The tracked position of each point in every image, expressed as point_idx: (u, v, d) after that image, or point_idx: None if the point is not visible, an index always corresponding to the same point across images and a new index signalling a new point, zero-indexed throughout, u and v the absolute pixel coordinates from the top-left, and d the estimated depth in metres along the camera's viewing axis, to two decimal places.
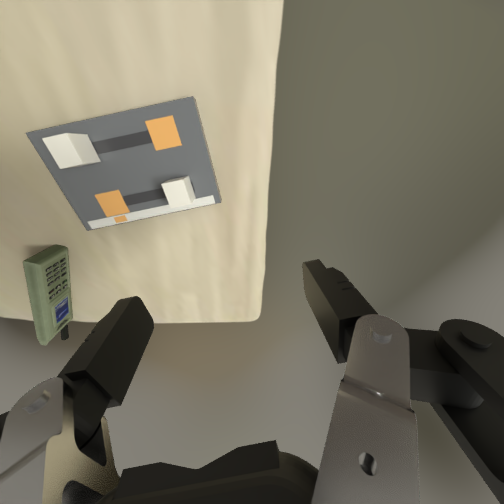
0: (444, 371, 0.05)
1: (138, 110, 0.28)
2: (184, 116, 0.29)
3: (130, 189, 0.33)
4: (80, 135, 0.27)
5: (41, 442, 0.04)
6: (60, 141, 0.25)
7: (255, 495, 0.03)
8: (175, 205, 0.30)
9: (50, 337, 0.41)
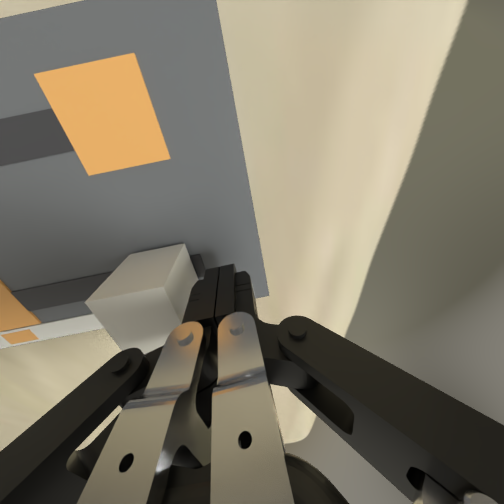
0: (274, 358, 0.06)
1: (0, 29, 0.07)
2: (178, 59, 0.08)
3: (31, 276, 0.12)
4: None
5: (176, 384, 0.05)
6: None
7: None
8: (141, 350, 0.10)
9: None
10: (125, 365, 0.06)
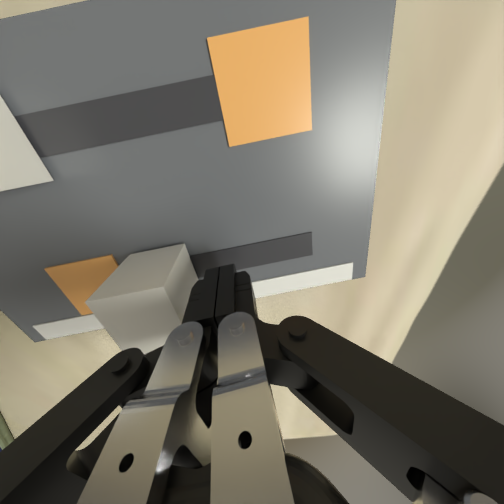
0: (274, 358, 0.06)
1: None
2: (347, 24, 0.08)
3: None
4: None
5: (176, 384, 0.05)
6: None
7: None
8: (142, 350, 0.10)
9: None
10: (125, 365, 0.06)
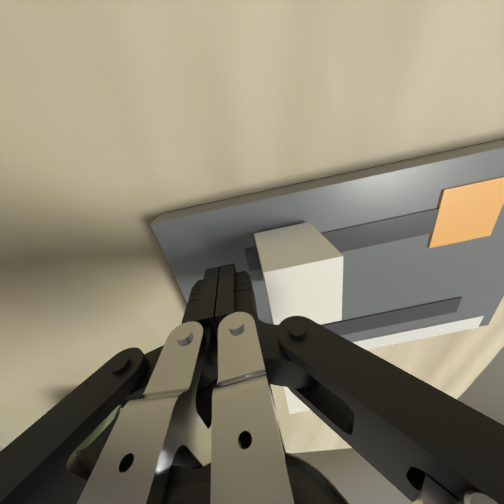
0: (274, 358, 0.06)
1: (442, 165, 0.11)
2: None
3: None
4: None
5: (176, 384, 0.05)
6: (312, 277, 0.08)
7: None
8: (301, 409, 0.13)
9: None
10: (125, 365, 0.06)
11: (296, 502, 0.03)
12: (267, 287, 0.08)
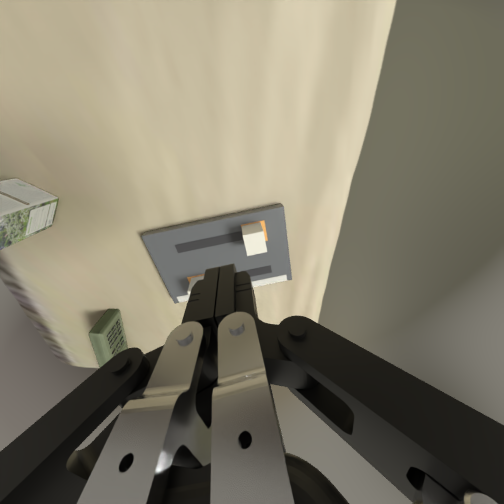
0: (274, 358, 0.06)
1: (237, 217, 0.33)
2: (273, 220, 0.34)
3: None
4: (261, 226, 0.32)
5: (176, 384, 0.05)
6: (256, 237, 0.30)
7: None
8: None
9: None
10: (125, 365, 0.06)
11: (296, 502, 0.03)
12: None
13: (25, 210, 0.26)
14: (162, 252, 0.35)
